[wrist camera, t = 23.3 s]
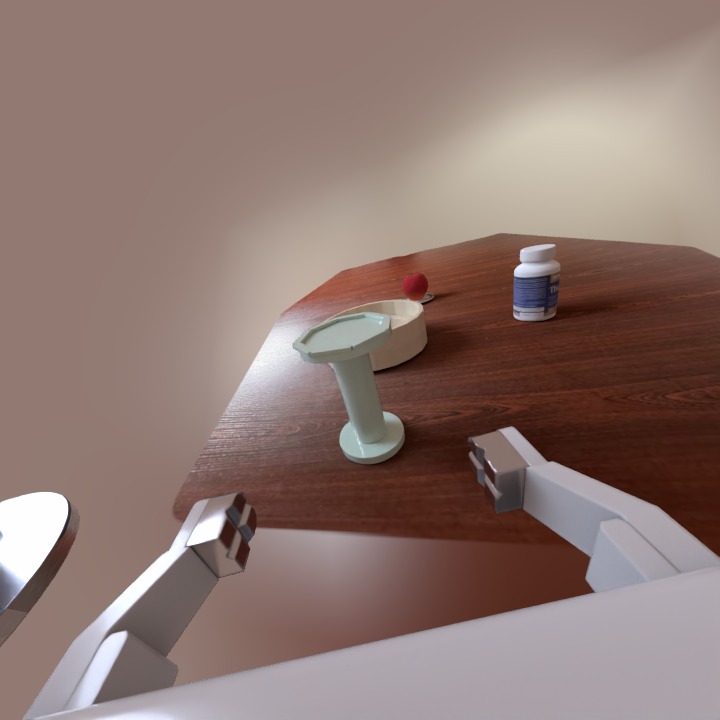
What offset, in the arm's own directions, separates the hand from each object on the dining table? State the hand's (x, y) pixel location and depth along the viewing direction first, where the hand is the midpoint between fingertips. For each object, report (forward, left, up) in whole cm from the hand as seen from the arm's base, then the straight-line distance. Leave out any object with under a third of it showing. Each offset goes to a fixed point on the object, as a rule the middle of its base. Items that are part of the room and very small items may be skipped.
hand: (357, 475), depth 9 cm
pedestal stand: (-3, +12, -9) cm, 15 cm away
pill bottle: (+19, +36, -10) cm, 41 cm away
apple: (+2, +56, -10) cm, 56 cm away
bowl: (-5, +32, -9) cm, 33 cm away
